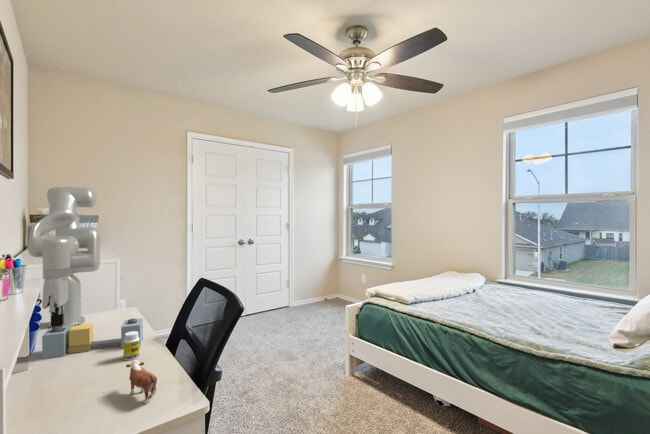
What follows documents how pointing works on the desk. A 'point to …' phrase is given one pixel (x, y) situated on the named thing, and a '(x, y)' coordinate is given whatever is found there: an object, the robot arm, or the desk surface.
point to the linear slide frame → (59, 341)
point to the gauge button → (57, 329)
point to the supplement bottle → (131, 345)
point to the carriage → (80, 338)
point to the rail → (103, 344)
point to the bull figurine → (142, 379)
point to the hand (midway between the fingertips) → (57, 325)
